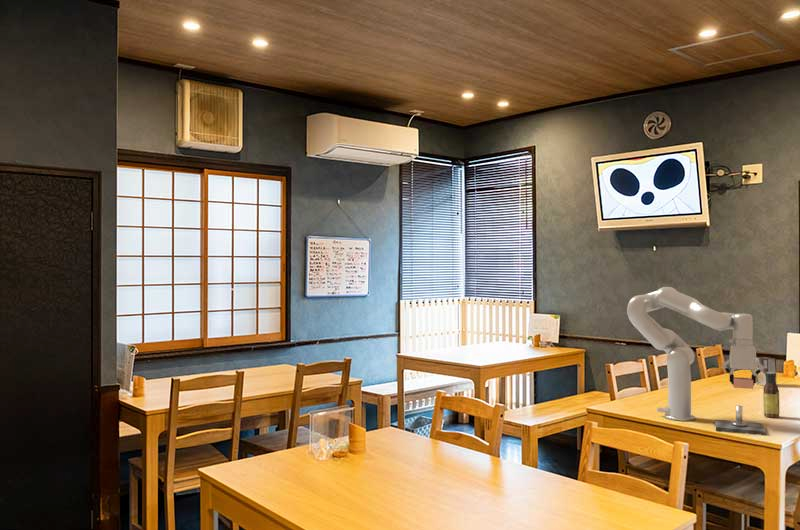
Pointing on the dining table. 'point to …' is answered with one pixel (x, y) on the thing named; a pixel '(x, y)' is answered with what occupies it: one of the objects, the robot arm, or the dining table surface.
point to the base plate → (750, 429)
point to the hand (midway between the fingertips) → (742, 384)
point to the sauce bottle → (771, 396)
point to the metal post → (739, 418)
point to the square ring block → (743, 383)
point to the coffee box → (765, 369)
